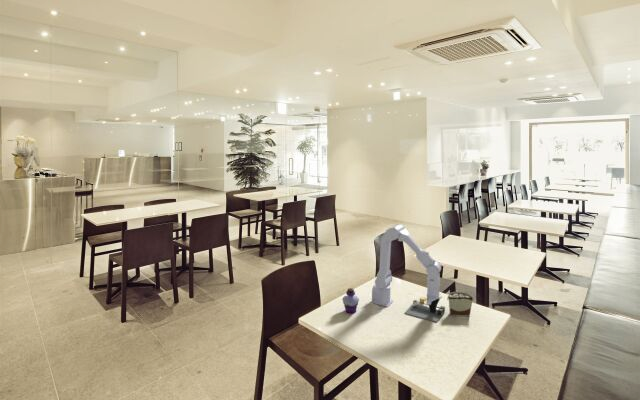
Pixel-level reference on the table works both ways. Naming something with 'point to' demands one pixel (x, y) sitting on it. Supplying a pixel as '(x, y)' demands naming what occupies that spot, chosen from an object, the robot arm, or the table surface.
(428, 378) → the table surface
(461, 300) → the food container
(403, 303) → the table surface
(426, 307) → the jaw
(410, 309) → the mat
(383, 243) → the robot arm
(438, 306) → the tongs fixed
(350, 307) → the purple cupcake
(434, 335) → the table surface
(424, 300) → the collar
